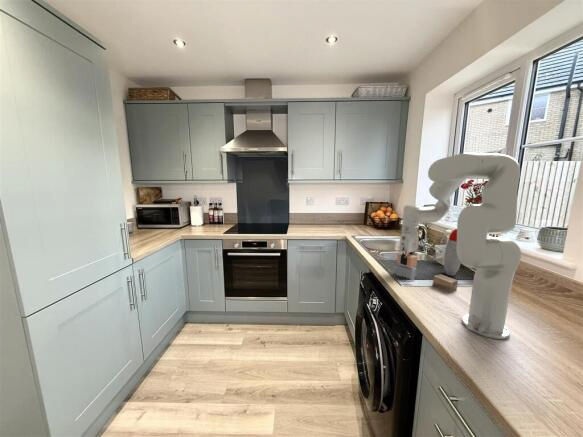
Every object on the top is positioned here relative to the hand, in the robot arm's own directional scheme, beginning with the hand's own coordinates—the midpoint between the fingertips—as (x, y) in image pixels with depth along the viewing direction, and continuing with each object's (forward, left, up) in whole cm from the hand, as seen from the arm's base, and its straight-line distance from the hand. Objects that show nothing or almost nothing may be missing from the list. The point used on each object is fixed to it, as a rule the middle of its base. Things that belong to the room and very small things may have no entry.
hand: (406, 263), depth 123 cm
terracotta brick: (0, 0, -1) cm, 1 cm away
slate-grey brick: (0, 0, -7) cm, 7 cm away
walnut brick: (+2, -18, -7) cm, 19 cm away
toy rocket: (+23, -12, -7) cm, 27 cm away
